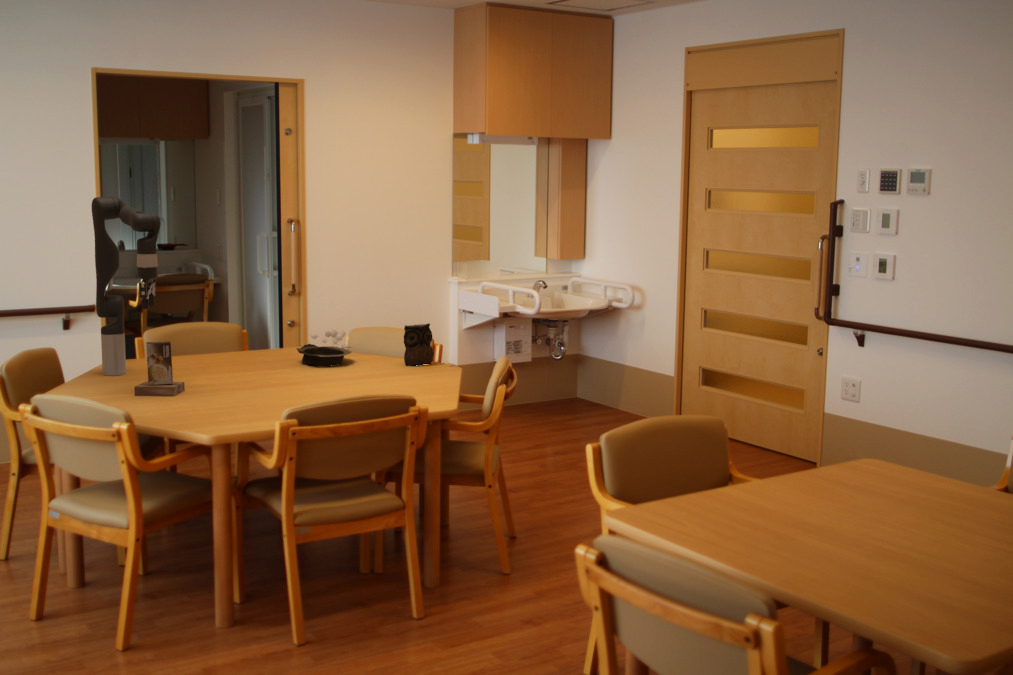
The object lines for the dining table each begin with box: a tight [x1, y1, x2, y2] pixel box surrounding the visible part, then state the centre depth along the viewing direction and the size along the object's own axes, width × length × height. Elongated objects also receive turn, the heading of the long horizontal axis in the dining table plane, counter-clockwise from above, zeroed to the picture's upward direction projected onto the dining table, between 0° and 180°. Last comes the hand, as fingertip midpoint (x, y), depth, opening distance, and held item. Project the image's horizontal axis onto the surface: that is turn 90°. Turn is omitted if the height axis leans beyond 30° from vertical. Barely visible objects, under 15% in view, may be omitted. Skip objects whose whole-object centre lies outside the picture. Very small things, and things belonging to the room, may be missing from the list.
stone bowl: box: [296, 343, 352, 367], centre depth 448 cm, size 25×25×9 cm
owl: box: [403, 323, 435, 367], centre depth 448 cm, size 13×13×20 cm
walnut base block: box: [134, 381, 185, 397], centre depth 377 cm, size 12×15×4 cm
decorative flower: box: [306, 328, 348, 349], centre depth 479 cm, size 25×22×14 cm
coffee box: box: [145, 341, 174, 385], centre depth 377 cm, size 9×6×16 cm
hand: (148, 307), depth 379 cm, fingers open, 8 cm apart
